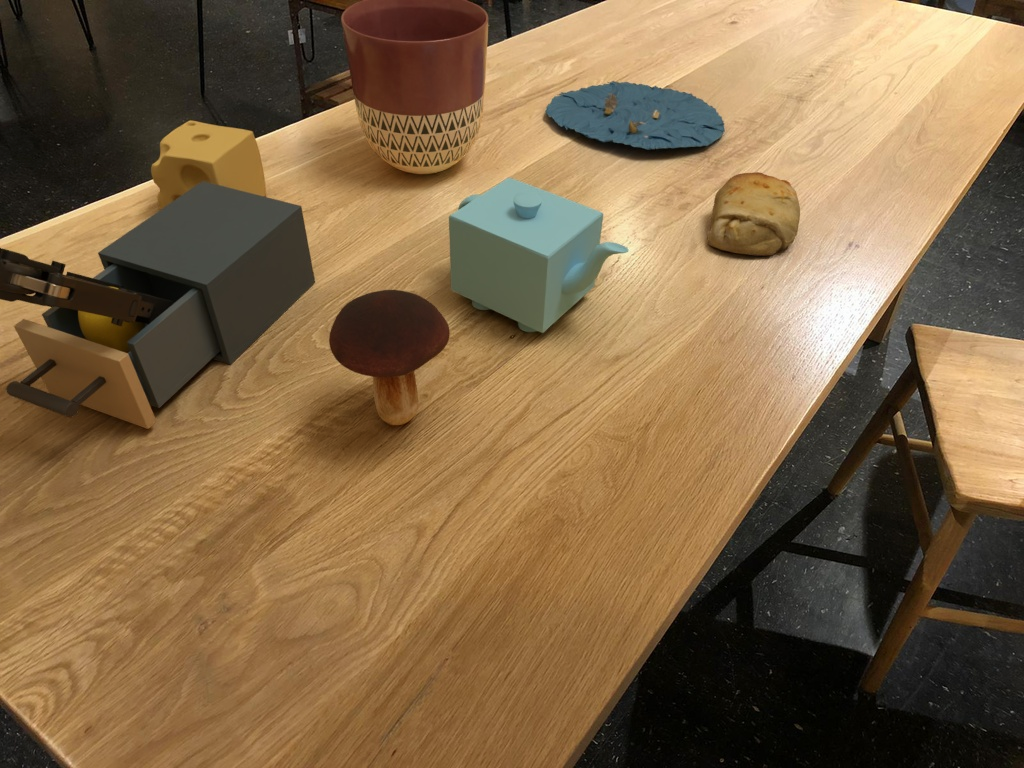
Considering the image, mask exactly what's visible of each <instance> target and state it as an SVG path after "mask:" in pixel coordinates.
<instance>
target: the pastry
mask: <svg viewBox="0 0 1024 768" xmlns="http://www.w3.org/2000/svg"><path fill="white" fill-rule="evenodd" d="M711 210H712V212H711V214H712V216H711V222H710V231H709V232H707V242H706V243H707V244H708V245H709V246H710V247H713V248H715V249H718V250H721V251H725V252H729V253H734V254H740V255H748V256H749V255H750V256H759V257H760V256H764V257H765V256H773V255H775V254H776V253H780V251H782V250H785V249H786V248H788V247H789V246H790V245H792V244H793V243H794V242H795V239H796V237H797V235H798V231H799V224H800V219H801V205H800V200H799V197H798V194H797V191H796V190H795V188H794V187H793V186H792V183H790V181H788V180H785V179H779V178H777V177H776V176H772V175H767V174H765V173H763V172H758V171H756V172H742V173H738V174H735V175H733V176H731V177H730V178H729V179H728V180H727V181H726V182H724V184H723V185H722V186H721V187H720V188H719V189H718V190H717V191H716V193H715V195H714V201H713V206H712V209H711Z"/></svg>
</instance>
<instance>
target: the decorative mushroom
mask: <svg viewBox="0 0 1024 768" xmlns="http://www.w3.org/2000/svg"><path fill="white" fill-rule="evenodd" d="M449 341H450V326H449V323H448V321H447V320H446V318H445V317H444V315H443V314H442V312H441V311H440V310H439V309H438V308H437V307H436V306H435V305H434V304H433V303H432V302H431V301H429V300H428V299H426V298H425V297H423V296H421V295H418V294H416V293H413V292H409V291H405V290H399V289H382V290H378V291H372V292H368V293H365V294H362V295H360V296H357V297H355V298H353V299H351V300H350V301H348V302H347V303H346V304H345V305H344V306H343V307H342V308H341V309H340V311H339V312H338V313H337V315H336V316H335V318H334V321H333V323H332V326H331V329H330V332H329V337H328V344H329V348H330V351H331V353H332V355H333V358H334V359H335V360H336V361H337V362H338V363H339V364H340V365H341V366H342V367H344V368H345V369H347V370H349V371H351V372H354V373H355V374H359V375H362V376H367V377H371V378H372V383H373V384H372V385H373V398H374V404H375V409H376V413H377V414H378V416H379V418H380V419H381V420H382V421H383V422H385V423H386V424H388V425H389V426H403V425H404V424H407V423H409V422H410V421H411V420H412V419H414V417H415V416H416V414H417V412H418V406H419V395H418V393H419V392H418V386H417V381H416V373H415V371H416V370H418V369H420V368H421V367H422V366H424V365H426V364H427V363H428V362H430V361H431V360H432V359H434V358H435V357H437V356H438V355H439V354H440V353H442V352H443V351H444V349H445V348H446V347H447V345H448V344H449Z"/></svg>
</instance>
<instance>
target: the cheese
mask: <svg viewBox="0 0 1024 768" xmlns="http://www.w3.org/2000/svg"><path fill="white" fill-rule="evenodd" d="M159 149H160V150H159V151H160V154H159V157H158V159H157V160H156V161H155V162H154V163H152V164H151V169H150V173H151V177H152V180H153V183H154V184H155V185H156V186H157V188H159V192H158V193H157V196H156V199H157V200H156V201H157V204H158V208H159V211H160V210H161V209H163V208H164V207H166V206H167V205H169V204H170V203H171V202H173V201H174V200H176V199H177V198H179V197H180V196H182V195H183V194H185V193H186V192H188V191H189V190H190V189H192V188H193V187H195V186H196V185H198V184H199V183H201V182H202V181H204V182H208V183H212V184H216V185H220V186H224V187H228V188H232V189H236V190H240V191H244V192H248V193H252V194H256V195H260V196H264V197H267V191H266V190H267V188H266V179H265V178H266V177H265V172H264V171H265V170H264V167H263V166H264V165H263V162H262V161H263V160H262V157H261V153H260V148H259V145H258V142H257V139H256V137H255V134H254V131H252V130H248V129H243V128H239V127H238V128H236V127H230V126H223V125H222V126H221V125H216V124H210V123H206V122H200V121H196V120H191V119H190V120H188V121H186V122H185V123H183V124H181V125H180V126H178V127H176V128H174V129H173V130H172V131H171V132H170V133H168V134H167V135H166V136H164V137H163V138H162V139H161V140H160V142H159Z"/></svg>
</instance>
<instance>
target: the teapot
mask: <svg viewBox="0 0 1024 768" xmlns="http://www.w3.org/2000/svg"><path fill="white" fill-rule="evenodd" d="M603 221H604V213H603V212H602V211H600V210H597V209H595V208H592V207H589V206H587V205H584V204H581V203H579V202H577V201H574V200H571V199H569V198H566V197H564V196H561V195H558V194H555V193H553V192H550V191H548V190H545V189H542V188H540V187H537V186H533V185H531V184H529V183H526V182H523V181H521V180H518V179H515V178H512V177H509V176H508V177H506V178H505V179H504V180H502V181H501V182H499V183H498V184H496V185H495V186H492V187H491V188H489V189H488V190H486V191H485V192H483V193H482V194H479V193H478V194H471V195H469V196H467V197H465V198H464V199H463V200H462V201H461V202H460V204H459V205H458V209H457V210H456V211H455V212H452V213H451V214H450V215H449V216H448V233H449V234H448V235H449V264H450V269H449V270H450V291H451V292H454V293H456V294H458V295H459V296H462V297H464V298H467V299H469V300H471V305H472V306H473V308H474V309H477V310H480V311H488V310H491V311H494V312H496V313H498V314H500V315H503V316H505V317H506V318H509V319H510V320H513V321H516V322H517V326H518V328H519V330H521V331H524V332H526V333H535V332H538V333H541V334H544V333H545V332H546V331H547V330H548V329H549V328H550V327H552V325H554V324H555V323H556V322H557V321H558V320H559V319H560V318H561V317H562V316H563V315H565V314H566V313H567V312H568V311H569V310H570V309H571V308H573V307H574V305H576V304H577V303H578V302H579V301H580V300H581V299H582V298H583V297H585V296H586V295H587V294H588V293H589V292H590V291H591V290H593V288H594V287H595V285H596V284H595V283H596V280H597V278H598V276H599V274H600V272H601V270H602V268H603V265H604V264H605V262H606V261H607V259H608V258H609V257H611V256H613V255H618V254H626V253H628V252H629V249H628V247H626V246H625V245H623V244H620V243H618V242H611V241H604V242H601V237H602V228H603Z"/></svg>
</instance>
